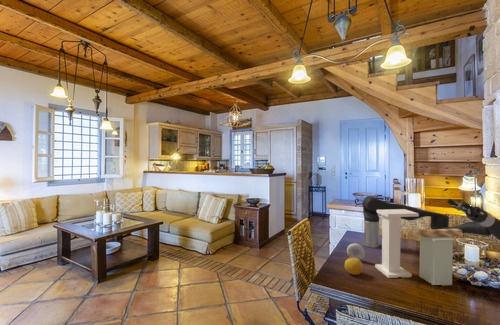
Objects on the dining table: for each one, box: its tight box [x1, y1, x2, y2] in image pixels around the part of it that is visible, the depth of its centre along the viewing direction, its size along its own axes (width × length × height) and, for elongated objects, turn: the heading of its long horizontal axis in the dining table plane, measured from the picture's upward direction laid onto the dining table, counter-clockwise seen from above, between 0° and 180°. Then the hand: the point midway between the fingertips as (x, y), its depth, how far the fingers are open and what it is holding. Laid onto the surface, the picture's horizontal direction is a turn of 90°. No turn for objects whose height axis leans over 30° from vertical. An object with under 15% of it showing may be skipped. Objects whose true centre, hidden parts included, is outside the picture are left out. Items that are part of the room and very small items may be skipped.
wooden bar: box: [410, 228, 463, 238], centre depth 119 cm, size 24×2×3 cm, turn 93°
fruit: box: [344, 257, 364, 276], centre depth 127 cm, size 9×8×8 cm
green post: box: [419, 237, 456, 286], centre depth 119 cm, size 10×10×22 cm
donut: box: [346, 242, 366, 261], centre depth 143 cm, size 10×4×10 cm, turn 62°
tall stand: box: [374, 209, 419, 279], centre depth 128 cm, size 16×12×32 cm
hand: (454, 201), depth 128 cm, fingers open, 8 cm apart
